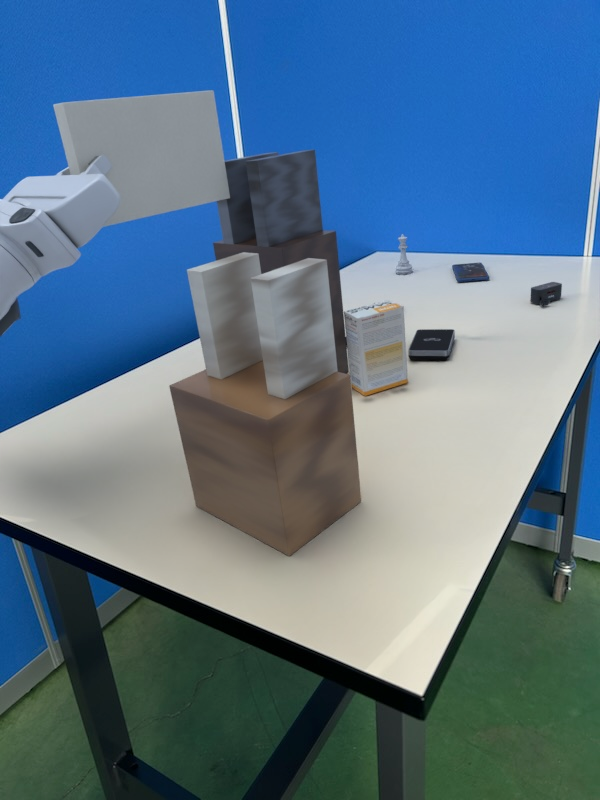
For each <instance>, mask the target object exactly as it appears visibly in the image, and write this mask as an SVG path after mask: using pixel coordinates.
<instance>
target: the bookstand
mask: <svg viewBox="0 0 600 800" xmlns="http://www.w3.org/2000/svg"><path fill="white" fill-rule="evenodd" d="M316 157H317V155H316V149H305V150H304V149H303V150H300V151H299V150H298V151H293V152H288V153H282V154H279V152H278V151H275V152H265V153H259V154H254V155H248V156H243V157H238V158H237V157H236V158H232V159H226V160H224V161H225V168H226V174H227V181H228V187H229V194H230V198H228V199H224V200H219V201H216V206H217V212H218V218H219V222H220V223H219V224H220V230H221V236H222V239H221V240H218V241H215V242H214V241H213V242H212V246H213V252H214V257H215V261H217V260H220V259H223V258H227V257H230V256H233V255H236V254H240V253H243V252H246V253H257V254H259V261H260V268H261V274H264V273H267V272H270V271H272V270H275V269H278V268H281V267H284V266H287V265H290V264H293V263H296V262H299V261H301V260H304V259H307V258H314V259H325V260H327V268H328V279H329V289H330V299H331V309H332V320H333V330H334V340H335V350H336V360H337V372H341V373H345V374H348V373H350V369H349V358H348V349H347V345H346V329H345V319H344V305H343V294H342V282H341V281H342V280H341V273H340V272H341V271H340V260H339V250H338V249H339V248H338V240H337V239H338V237H337V230H324V228H323V226H324V225H323V216H322V208H321V207H322V206H321V196H320V195H321V194H320V185H319V175H318V167H317V158H316Z"/></svg>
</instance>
